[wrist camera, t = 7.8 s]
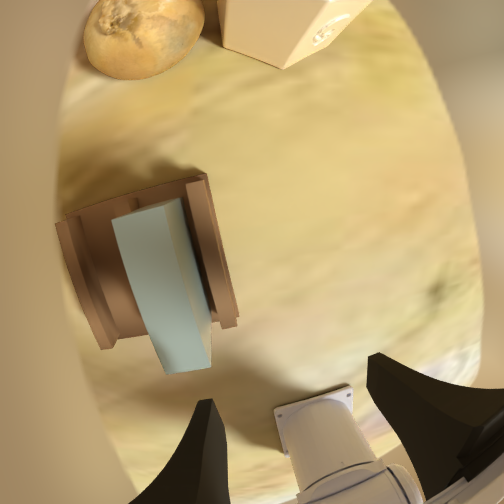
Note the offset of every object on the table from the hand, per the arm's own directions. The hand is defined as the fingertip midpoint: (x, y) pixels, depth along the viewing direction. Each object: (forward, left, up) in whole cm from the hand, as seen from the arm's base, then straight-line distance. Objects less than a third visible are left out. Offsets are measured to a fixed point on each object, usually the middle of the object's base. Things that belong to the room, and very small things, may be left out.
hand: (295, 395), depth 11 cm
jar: (+21, -5, -10) cm, 24 cm away
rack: (+5, +7, -10) cm, 13 cm away
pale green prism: (+5, +5, -9) cm, 11 cm away
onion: (+21, +4, -10) cm, 24 cm away
